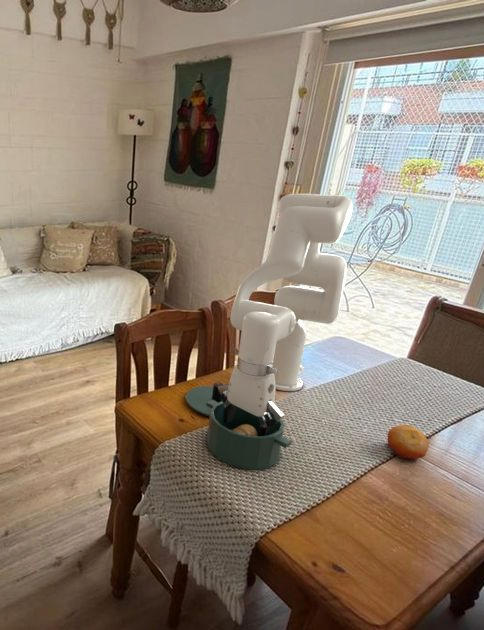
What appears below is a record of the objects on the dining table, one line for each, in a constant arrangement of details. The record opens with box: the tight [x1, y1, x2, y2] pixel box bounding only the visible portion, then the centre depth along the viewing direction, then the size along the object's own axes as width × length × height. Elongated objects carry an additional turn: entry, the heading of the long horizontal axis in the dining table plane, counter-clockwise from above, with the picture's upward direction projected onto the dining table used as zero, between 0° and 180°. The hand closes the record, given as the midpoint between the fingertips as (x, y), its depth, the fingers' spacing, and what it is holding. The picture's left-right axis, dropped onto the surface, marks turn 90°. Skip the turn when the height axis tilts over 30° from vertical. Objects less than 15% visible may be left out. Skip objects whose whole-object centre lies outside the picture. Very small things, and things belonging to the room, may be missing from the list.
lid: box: [185, 382, 228, 417], centre depth 126 cm, size 18×18×6 cm
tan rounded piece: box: [232, 424, 257, 436], centre depth 107 cm, size 8×5×5 cm, turn 125°
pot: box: [206, 400, 293, 471], centre depth 106 cm, size 17×22×8 cm
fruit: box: [386, 424, 430, 460], centre depth 105 cm, size 8×8×8 cm
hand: (244, 429), depth 106 cm, fingers open, 8 cm apart
